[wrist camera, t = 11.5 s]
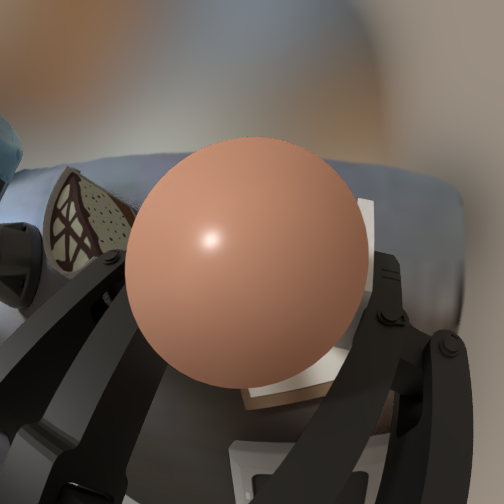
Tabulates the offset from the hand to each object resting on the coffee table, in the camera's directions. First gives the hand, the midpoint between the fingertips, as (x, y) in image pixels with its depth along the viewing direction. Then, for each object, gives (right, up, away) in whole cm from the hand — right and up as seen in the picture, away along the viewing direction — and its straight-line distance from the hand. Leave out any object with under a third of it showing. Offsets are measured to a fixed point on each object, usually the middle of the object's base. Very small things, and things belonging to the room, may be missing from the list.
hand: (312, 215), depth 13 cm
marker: (0, -5, +3) cm, 6 cm away
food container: (-17, -2, +15) cm, 22 cm away
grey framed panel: (+3, -23, +5) cm, 24 cm away
